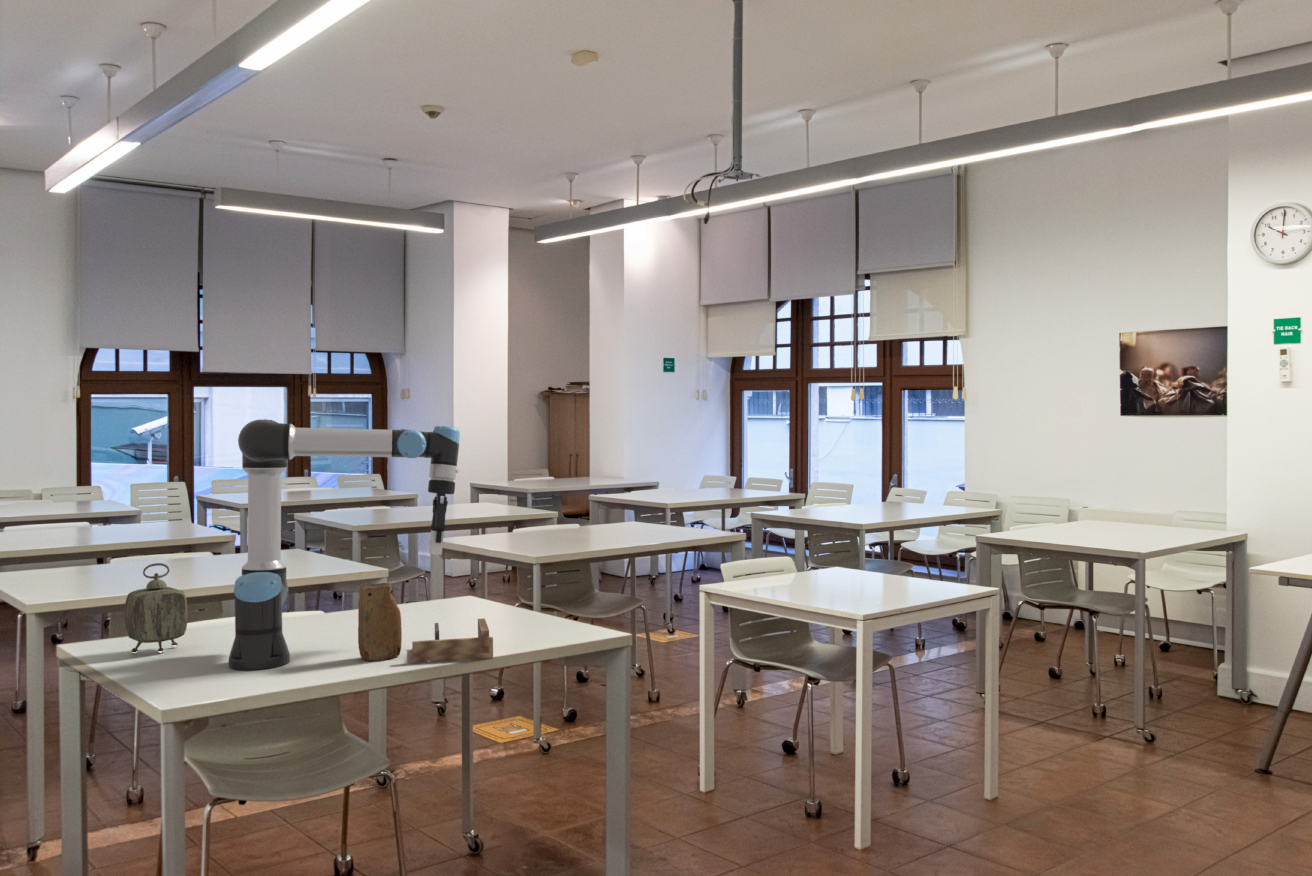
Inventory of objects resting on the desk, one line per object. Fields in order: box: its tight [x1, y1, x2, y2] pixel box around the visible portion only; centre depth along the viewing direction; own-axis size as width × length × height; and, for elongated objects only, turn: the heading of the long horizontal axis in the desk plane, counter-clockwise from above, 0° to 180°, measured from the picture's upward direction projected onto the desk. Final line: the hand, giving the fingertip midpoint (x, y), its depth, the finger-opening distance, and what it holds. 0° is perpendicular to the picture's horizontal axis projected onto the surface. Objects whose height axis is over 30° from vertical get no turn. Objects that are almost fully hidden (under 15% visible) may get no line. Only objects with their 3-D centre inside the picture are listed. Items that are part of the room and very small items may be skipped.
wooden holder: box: [411, 618, 494, 664], centre depth 281 cm, size 21×18×8 cm
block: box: [357, 582, 403, 662], centre depth 277 cm, size 11×8×20 cm
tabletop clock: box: [123, 562, 189, 653], centre depth 287 cm, size 14×9×25 cm, turn 134°
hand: (435, 553), depth 294 cm, fingers open, 13 cm apart
